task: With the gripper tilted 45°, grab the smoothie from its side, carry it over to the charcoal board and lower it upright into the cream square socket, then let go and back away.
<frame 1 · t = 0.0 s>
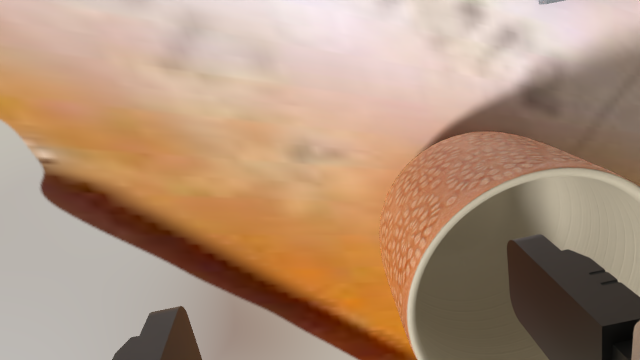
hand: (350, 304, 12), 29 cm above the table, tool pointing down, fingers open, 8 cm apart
planter: (458, 207, 44), on the table
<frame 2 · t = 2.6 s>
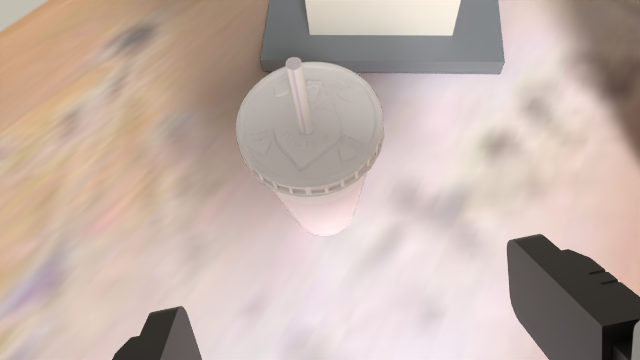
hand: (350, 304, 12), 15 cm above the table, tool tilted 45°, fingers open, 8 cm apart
smoothie: (324, 208, 29), on the table
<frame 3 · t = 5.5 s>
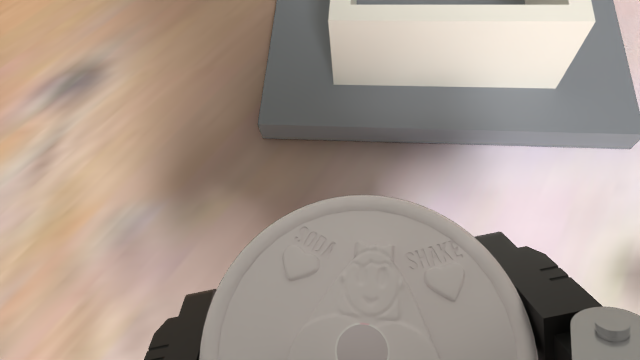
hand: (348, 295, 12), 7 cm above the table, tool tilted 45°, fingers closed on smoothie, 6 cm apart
socket board: (435, 22, 25), on the table
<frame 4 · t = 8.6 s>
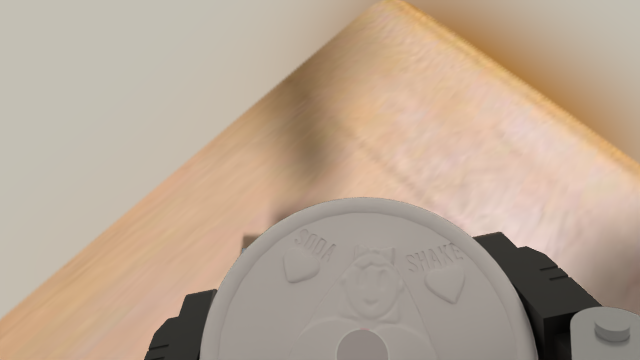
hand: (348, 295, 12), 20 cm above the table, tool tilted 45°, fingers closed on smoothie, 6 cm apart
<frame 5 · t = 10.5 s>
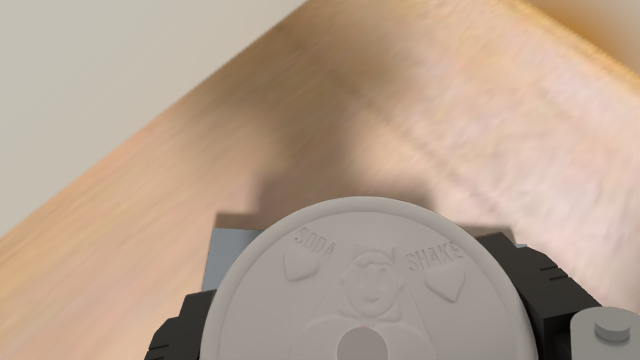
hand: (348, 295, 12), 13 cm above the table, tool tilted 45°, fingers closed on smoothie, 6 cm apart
when the fingers open (9 cm above the table, at t = 11.9 s): smoothie drops 1 cm, resting on socket board.
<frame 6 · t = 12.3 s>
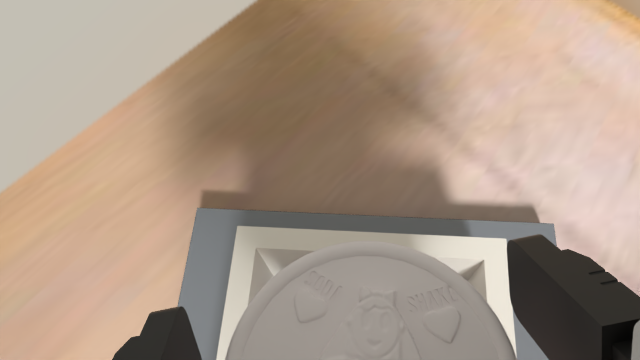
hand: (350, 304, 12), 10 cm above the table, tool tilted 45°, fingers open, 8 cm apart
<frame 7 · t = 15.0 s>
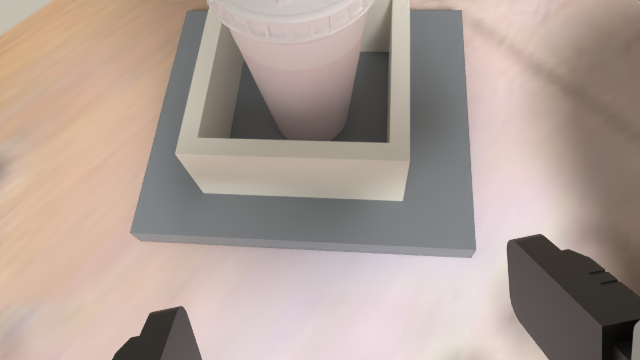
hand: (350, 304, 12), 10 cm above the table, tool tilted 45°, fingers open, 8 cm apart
smoothie: (311, 117, 25), point 1 cm above the table, touching socket board
socket board: (311, 124, 26), on the table
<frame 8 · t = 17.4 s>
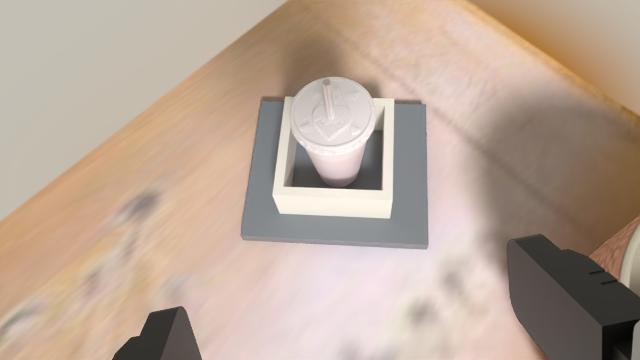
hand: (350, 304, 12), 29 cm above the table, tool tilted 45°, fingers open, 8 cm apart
smoothie: (338, 169, 44), point 1 cm above the table, touching socket board
socket board: (338, 172, 46), on the table
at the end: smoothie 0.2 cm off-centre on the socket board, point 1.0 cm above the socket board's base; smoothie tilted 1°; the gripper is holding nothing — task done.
